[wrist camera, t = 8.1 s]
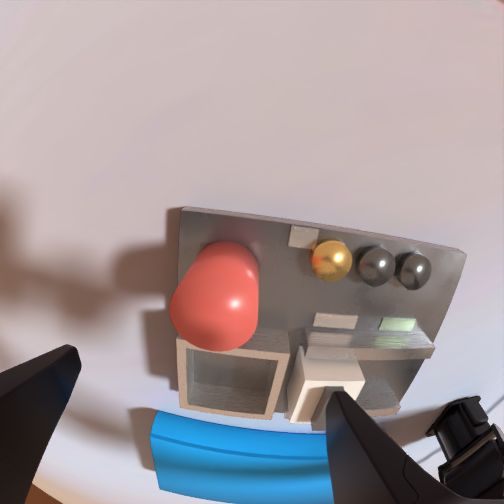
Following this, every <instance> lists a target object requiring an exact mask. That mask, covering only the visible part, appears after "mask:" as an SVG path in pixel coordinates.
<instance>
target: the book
mask: <svg viewBox="0 0 504 504" xmlns="http://www.w3.org/2000/svg"><path fill="white" fill-rule="evenodd" d="M150 442H151V448H152V454H153V460H154V465H155V470H156V475H157V479H158V484H159V488H160V489H161V490H164V491H168V492H172V493H176V494H181V495H185V496H190V497H195V498H200V499H206V500H212V501H219V502H226V503H235V504H334V499H333V491H332V484H331V477H330V470H329V463H328V456H327V447H326V434H300V433H284V432H272V431H262V430H253V429H246V428H239V427H232V426H226V425H220V424H214V423H209V422H204V421H199V420H194V419H190V418H186V417H181V416H177V415H173V414H169V413H165V412H162V411H158V412H157V414H156V417H155V419H154V422H153V426H152V430H151V434H150Z"/></svg>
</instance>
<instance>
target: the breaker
mask: <svg viewBox="0 0 504 504" xmlns="http://www.w3.org/2000/svg"><path fill="white" fill-rule="evenodd" d="M364 383H365V378H364V376H363V373H362V371H361V368H360V366H359V363H358V361H357V360H334V359H313V358H305V356H304V351H303V346H300V345H299V349H298V353H297V356H296V360H295V363H294V366H293V370H292V373H291V377H290V380H289V383H288V386H287V398H288V411H289V423H311V427H312V431H321V430H326V416H325V410H326V406H327V403H328V401H329V399H330V397H331V395H332V393H333V392H334V391H346V392H347V393H348V394H349V395H350V396H351V397H352V398H353V399H354V400H356V398H357V397H358V395H359V393H360V391H361V389H362V387H363V385H364Z"/></svg>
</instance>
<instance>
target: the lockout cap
mask: <svg viewBox="0 0 504 504" xmlns="http://www.w3.org/2000/svg"><path fill="white" fill-rule="evenodd" d="M258 299H259V267H258V263H257V261H256V259H255V257H254V256H253V254H252V253H251V252H250V251H249V250H248V249H247V248H245V247H244V246H242V245H240V244H238V243H235V242H231V241H219V242H215V243H212V244H210V245H208V246H206V247H205V248H204V249H202V250H201V251H200V253H199V254H198V256H197V257H196V259H195V260H194V262H193V263H192V265H191V267H190V268H189V270H188V271H187V273H186V275H185V276H184V278H183V279H182V281H181V283H180V284H179V286H178V288H177V289H176V291H175V293H174V294H173V296H172V299H171V302H170V317H171V321H172V323H173V325H174V327H175V329H176V330H177V332H178V333H179V334H180V335H181V336H182V337H183V338H184V339H185V340H186V341H188V342H189V343H190V344H192V345H194V346H196V347H198V348H201V349H204V350H208V351H215V352H222V351H229V350H233V349H235V348H238V347H240V346H242V345H243V344H245V343H246V342H247V341H248V340H249V339H250V338H251V337H252V335H253V334H254V332H255V330H256V327H257V322H258Z"/></svg>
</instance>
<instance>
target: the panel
mask: <svg viewBox="0 0 504 504" xmlns="http://www.w3.org/2000/svg"><path fill="white" fill-rule="evenodd" d="M219 241H231V242H235V243H238V244H240V245H242V246H244V247H245V248H247V249H248V250H249V251H250V252H251V253H252V254H253V256H254V257H255V259H256V261H257V263H258V267H259V299H258V322H257V327H256V330H255V332H254V334H253V335H252V337H251V338H250V339H249V340H248V341H247V342H246V343H245V344H243V345H242V346H240V347H238V348H235V349H233V350H229V351H222V352H215V351H208V350H204V349H201V348H198V347H196V346H194V345H192V344H190V343H189V342H188V341H186V340H185V339H184V338H183V337H182V336H181V335H180V334H179V333H178V336H177V338H176V346H177V371H178V388H179V403H180V408H184V409H189V410H195V411H200V412H206V413H213V414H219V415H227V416H235V417H243V418H253V419H265V420H271V419H272V416H273V412H279V413H284V418H286V419H289V411H288V398H287V386H288V383H289V380H290V377H291V373H292V370H293V366H294V363H295V360H296V356H297V353H298V349H299V345H300V346H303V351H304V356H305V358H313V359H334V360H357V361H358V363H359V366H360V368H361V371H362V373H363V376H364V378H365V383H364V385H363V387H362V389H361V391H360V393H359V395H358V397H357V398H356V400H355V401H356V402H357V403H358V404H359V405H360V406H361V407H362V409H363V410H364V411H365V412H366V413H367V414H368V415H369V416H370V417H376V416H386V415H395V414H397V412H398V411H399V409H400V408H401V406H400V404H399V402H400V401H401V399H402V398H403V396H404V394H405V393H406V391H407V390H408V388H409V386H410V385H411V383H412V381H413V379H414V378H415V376H416V374H417V372H418V371H419V369H420V367H421V365H422V363H423V361H424V360H425V359H428V358H430V357H431V356H432V354H433V352H434V350H435V346H434V345H433V342H434V340H435V338H436V335H437V333H438V331H439V329H440V327H441V325H442V322H443V320H444V318H445V315H446V313H447V311H448V308H449V306H450V303H451V301H452V298H453V295H454V293H455V290H456V287H457V285H458V282H459V279H460V276H461V273H462V270H463V267H464V264H465V261H466V257H467V254H466V253H464V252H463V251H461V250H459V249H456V248H451V247H446V246H441V245H436V244H431V243H426V242H421V241H416V240H411V239H406V238H400V237H395V236H389V235H384V234H378V233H373V232H367V231H361V230H355V229H349V228H343V227H337V226H331V225H324V224H318V223H311V222H305V221H298V220H291V219H284V218H277V217H270V216H262V215H255V214H247V213H239V212H231V211H222V210H214V209H205V208H196V207H187V206H186V207H184V208H183V209H181V212H180V228H179V250H178V286H179V284H180V283H181V281H182V279H183V278H184V276H185V275H186V273H187V271H188V270H189V268H190V267H191V265H192V263H193V262H194V260H195V259H196V257H197V256H198V254H199V253H200V251H201V250H202V249H204V248H205V247H206V246H208V245H210V244H212V243H215V242H219ZM177 288H178V287H177Z"/></svg>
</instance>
